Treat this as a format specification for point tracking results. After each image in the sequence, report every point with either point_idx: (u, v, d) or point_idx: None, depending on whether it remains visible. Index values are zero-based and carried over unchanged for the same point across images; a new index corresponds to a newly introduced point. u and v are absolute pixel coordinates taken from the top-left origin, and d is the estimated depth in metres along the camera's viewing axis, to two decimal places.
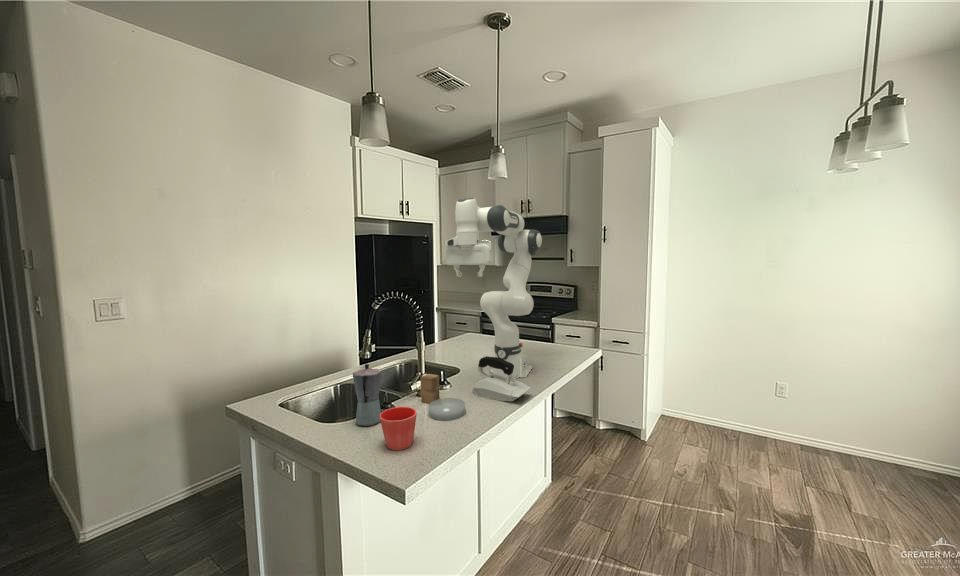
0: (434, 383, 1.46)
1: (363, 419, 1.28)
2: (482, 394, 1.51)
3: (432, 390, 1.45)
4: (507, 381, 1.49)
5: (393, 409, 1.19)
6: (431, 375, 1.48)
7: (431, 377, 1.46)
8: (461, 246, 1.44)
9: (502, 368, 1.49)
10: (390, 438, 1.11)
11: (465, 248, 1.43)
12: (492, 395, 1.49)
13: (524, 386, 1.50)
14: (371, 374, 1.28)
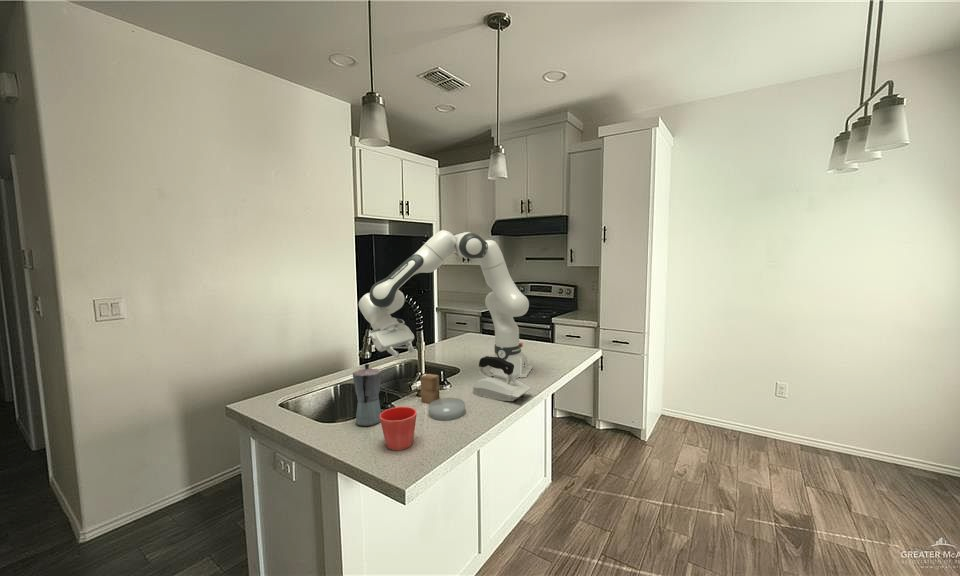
0: (434, 383, 1.46)
1: (363, 419, 1.28)
2: (482, 394, 1.52)
3: (432, 390, 1.45)
4: (507, 381, 1.49)
5: (393, 409, 1.19)
6: (431, 375, 1.48)
7: (431, 377, 1.46)
8: None
9: (502, 367, 1.49)
10: (390, 438, 1.11)
11: None
12: (492, 395, 1.49)
13: (524, 386, 1.50)
14: (371, 374, 1.28)
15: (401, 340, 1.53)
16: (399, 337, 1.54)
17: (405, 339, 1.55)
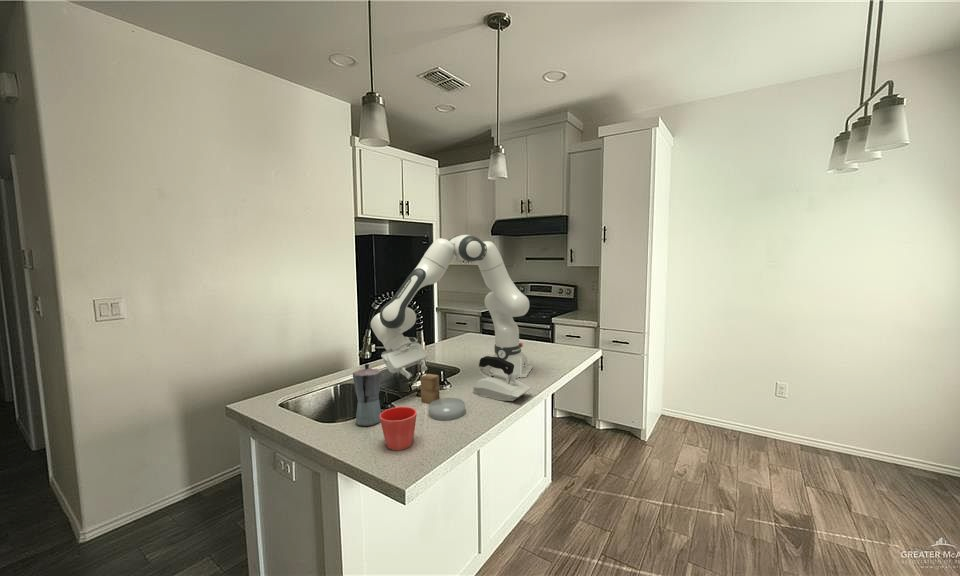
0: (434, 383, 1.46)
1: (363, 419, 1.28)
2: (482, 393, 1.52)
3: (432, 390, 1.45)
4: (507, 381, 1.49)
5: (393, 409, 1.19)
6: (431, 375, 1.48)
7: (431, 377, 1.46)
8: None
9: (502, 367, 1.49)
10: (390, 438, 1.11)
11: None
12: (492, 394, 1.49)
13: (524, 386, 1.50)
14: (371, 374, 1.28)
15: (414, 360, 1.52)
16: (412, 356, 1.53)
17: (417, 358, 1.54)
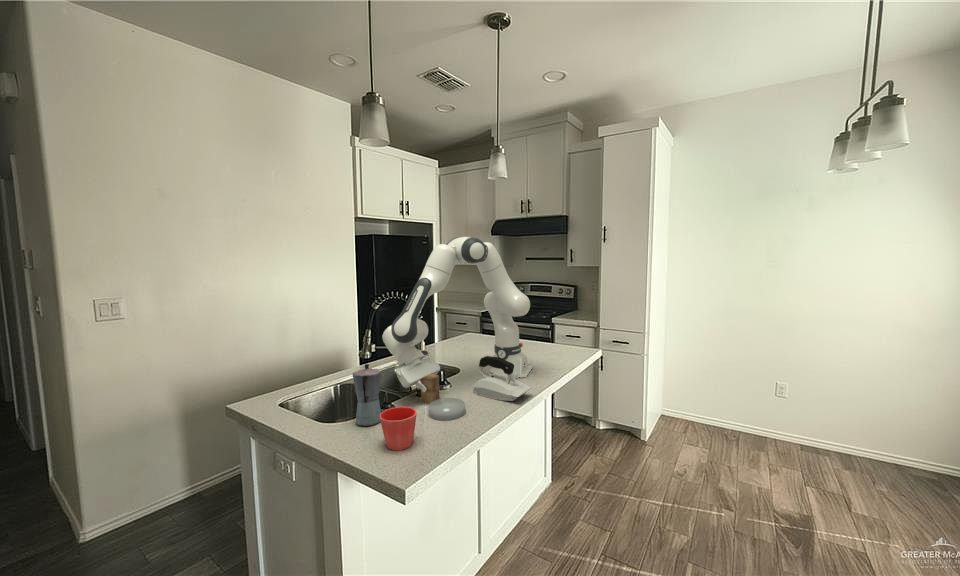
0: (434, 383, 1.46)
1: (363, 419, 1.28)
2: (482, 393, 1.52)
3: (432, 390, 1.45)
4: (507, 381, 1.49)
5: (393, 409, 1.19)
6: (431, 375, 1.48)
7: (431, 377, 1.46)
8: None
9: (502, 367, 1.49)
10: (390, 438, 1.11)
11: None
12: (492, 394, 1.49)
13: (524, 386, 1.50)
14: (371, 374, 1.28)
15: (427, 374, 1.49)
16: (425, 370, 1.50)
17: (430, 371, 1.51)
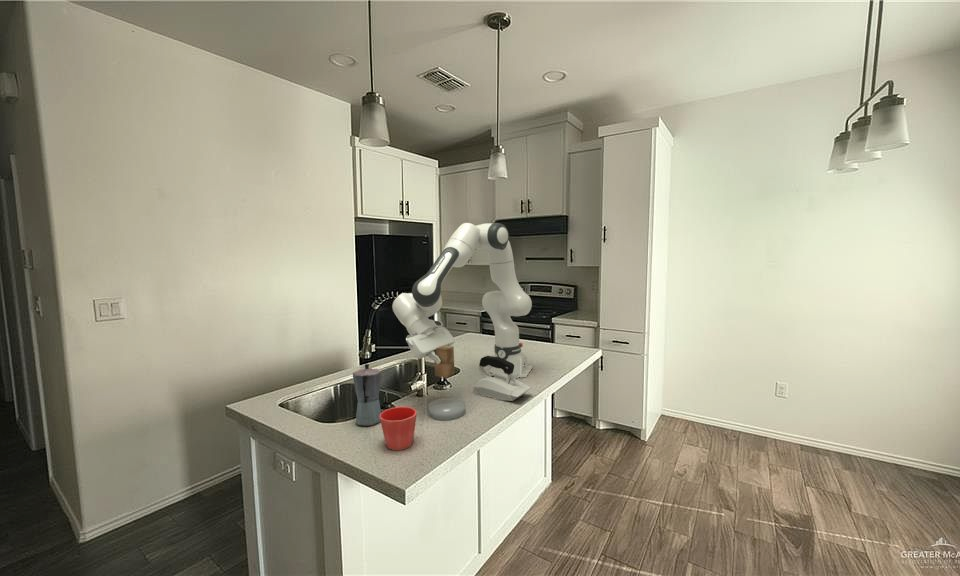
0: (448, 354, 1.34)
1: (363, 419, 1.28)
2: (482, 393, 1.52)
3: (446, 362, 1.33)
4: (507, 381, 1.49)
5: (393, 409, 1.19)
6: (445, 346, 1.36)
7: (445, 348, 1.34)
8: None
9: (502, 367, 1.50)
10: (390, 438, 1.11)
11: None
12: (492, 394, 1.49)
13: (524, 386, 1.50)
14: (371, 374, 1.28)
15: (441, 345, 1.37)
16: (438, 341, 1.38)
17: (444, 343, 1.39)
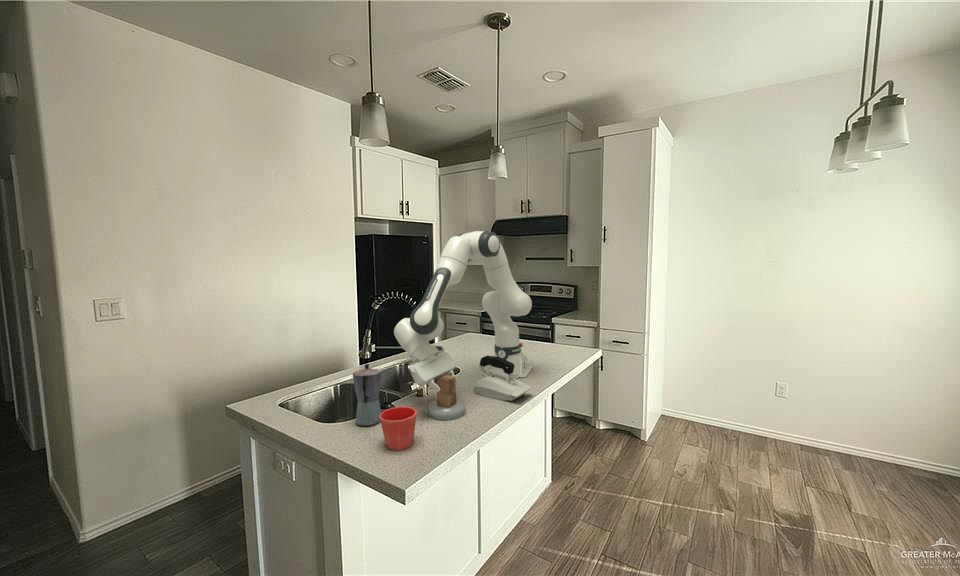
0: (450, 385, 1.34)
1: (363, 419, 1.28)
2: (483, 393, 1.53)
3: (448, 393, 1.33)
4: (507, 380, 1.49)
5: (393, 409, 1.19)
6: (447, 376, 1.37)
7: (447, 378, 1.34)
8: None
9: (503, 367, 1.50)
10: (390, 438, 1.11)
11: None
12: (492, 394, 1.50)
13: (524, 386, 1.50)
14: (371, 374, 1.28)
15: (442, 371, 1.37)
16: (440, 367, 1.38)
17: (446, 369, 1.40)
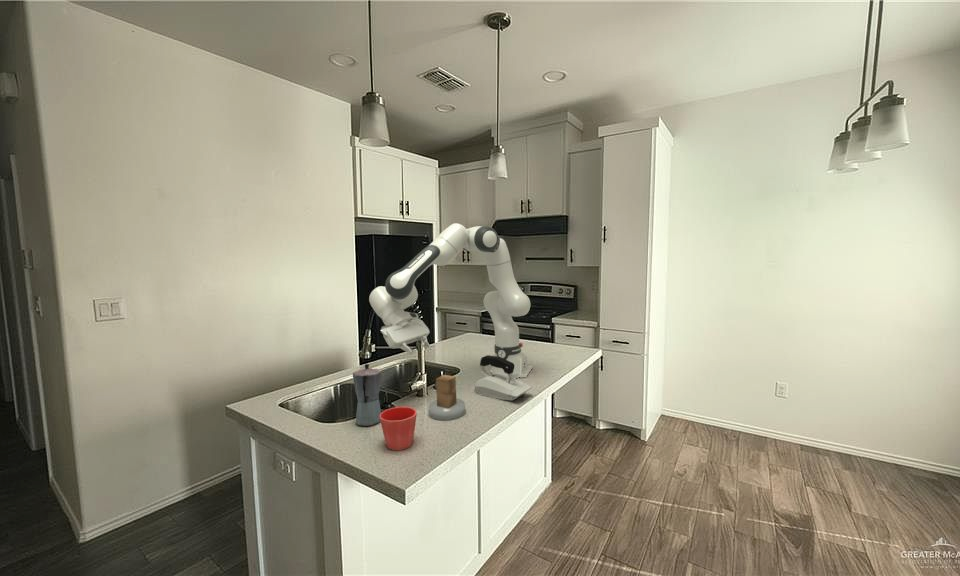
0: (450, 385, 1.34)
1: (363, 419, 1.28)
2: (483, 392, 1.53)
3: (448, 393, 1.33)
4: (507, 380, 1.50)
5: (393, 409, 1.19)
6: (447, 376, 1.37)
7: (447, 378, 1.34)
8: None
9: (503, 367, 1.50)
10: (390, 438, 1.11)
11: None
12: (492, 393, 1.50)
13: (524, 385, 1.50)
14: (371, 374, 1.28)
15: (415, 335, 1.43)
16: (413, 332, 1.44)
17: (419, 334, 1.45)
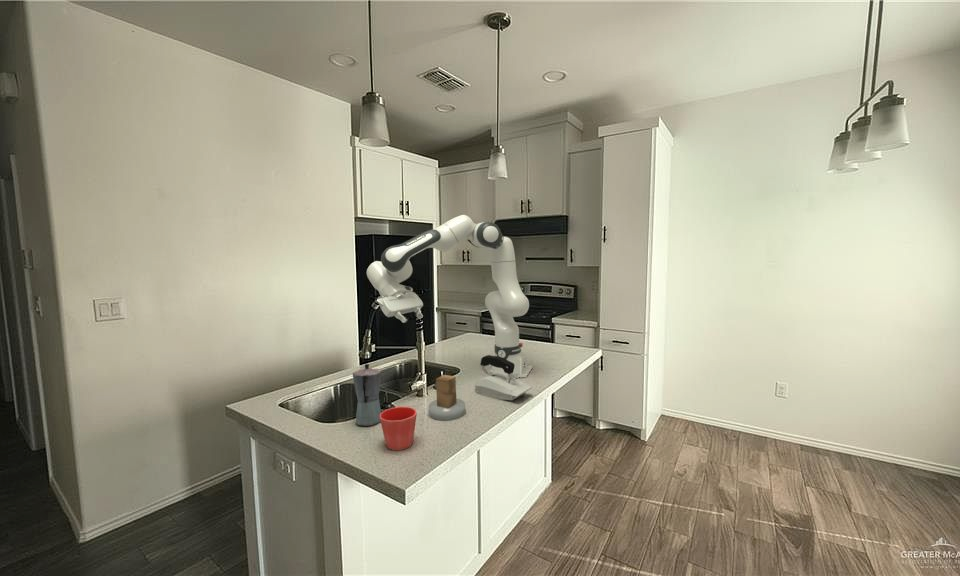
0: (450, 385, 1.34)
1: (363, 419, 1.28)
2: (483, 392, 1.53)
3: (448, 393, 1.33)
4: (507, 380, 1.50)
5: (393, 409, 1.19)
6: (447, 376, 1.37)
7: (447, 378, 1.34)
8: None
9: (503, 366, 1.50)
10: (390, 438, 1.11)
11: None
12: (492, 393, 1.50)
13: (524, 385, 1.50)
14: (371, 374, 1.28)
15: (409, 306, 1.53)
16: (407, 303, 1.54)
17: (413, 305, 1.55)
